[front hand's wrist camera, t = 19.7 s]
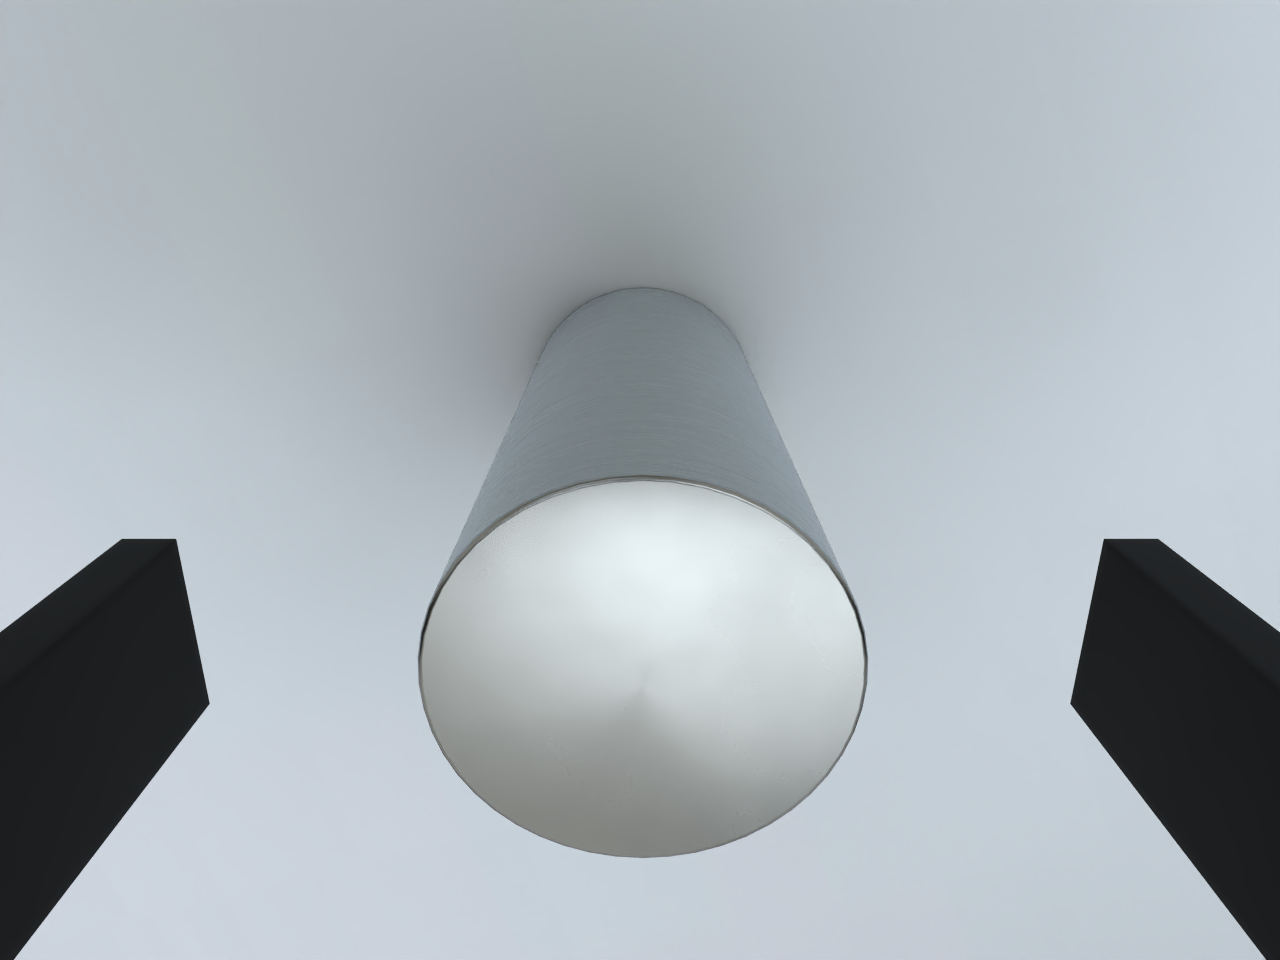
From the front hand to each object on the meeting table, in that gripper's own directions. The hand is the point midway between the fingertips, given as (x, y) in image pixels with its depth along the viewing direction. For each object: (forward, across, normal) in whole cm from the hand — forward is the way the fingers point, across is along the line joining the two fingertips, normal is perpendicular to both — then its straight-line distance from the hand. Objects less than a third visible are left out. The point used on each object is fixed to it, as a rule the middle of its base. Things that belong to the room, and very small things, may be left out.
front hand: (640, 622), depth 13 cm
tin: (+11, 0, 0) cm, 11 cm away
